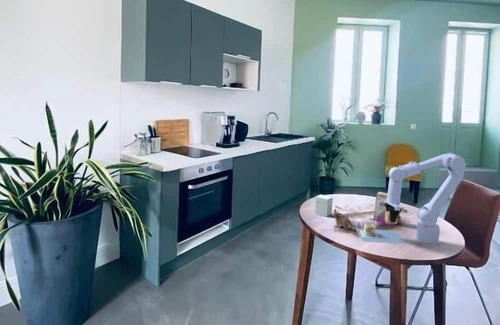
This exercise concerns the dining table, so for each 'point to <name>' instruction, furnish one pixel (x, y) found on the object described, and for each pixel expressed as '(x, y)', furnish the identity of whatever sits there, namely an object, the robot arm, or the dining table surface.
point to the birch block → (369, 229)
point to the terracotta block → (387, 218)
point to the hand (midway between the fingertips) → (391, 220)
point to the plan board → (382, 236)
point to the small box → (323, 205)
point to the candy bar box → (380, 208)
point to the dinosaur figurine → (342, 220)
